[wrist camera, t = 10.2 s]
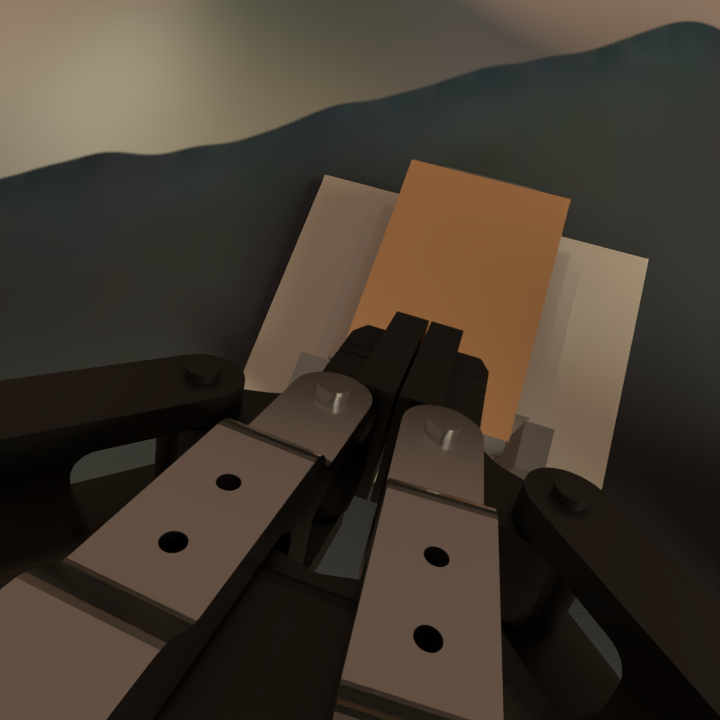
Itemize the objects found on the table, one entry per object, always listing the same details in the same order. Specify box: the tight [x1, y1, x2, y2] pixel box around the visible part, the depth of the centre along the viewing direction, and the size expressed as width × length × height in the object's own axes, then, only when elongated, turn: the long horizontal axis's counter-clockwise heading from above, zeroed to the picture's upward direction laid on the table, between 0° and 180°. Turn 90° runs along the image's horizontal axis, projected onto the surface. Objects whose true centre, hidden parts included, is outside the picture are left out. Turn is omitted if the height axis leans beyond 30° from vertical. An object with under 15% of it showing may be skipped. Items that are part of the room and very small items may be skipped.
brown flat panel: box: [346, 159, 571, 458], centre depth 27 cm, size 8×1×13 cm
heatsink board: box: [243, 166, 649, 490], centre depth 30 cm, size 20×17×8 cm
